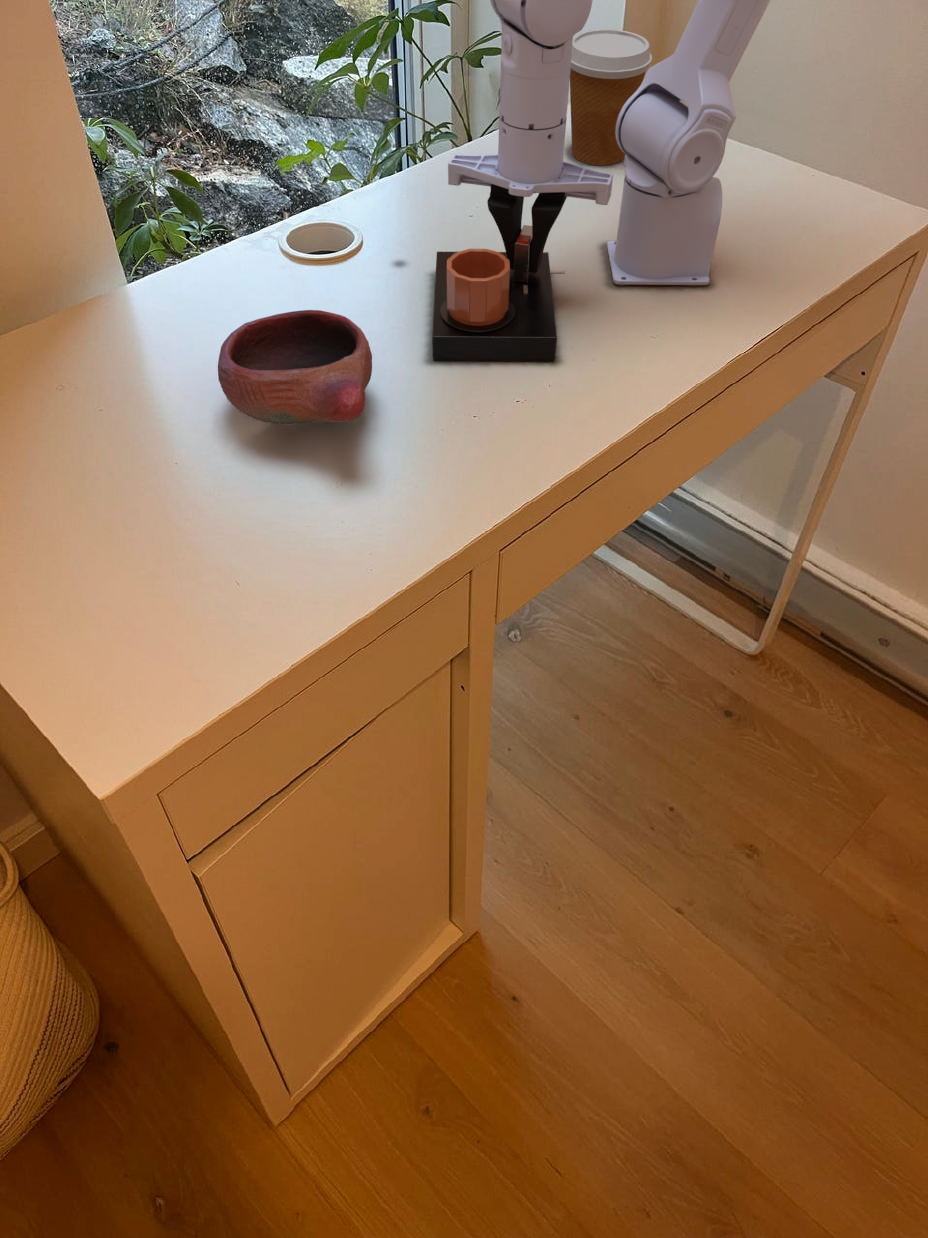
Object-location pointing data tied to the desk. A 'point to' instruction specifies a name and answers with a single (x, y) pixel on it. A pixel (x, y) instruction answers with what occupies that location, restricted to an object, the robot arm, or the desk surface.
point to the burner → (477, 329)
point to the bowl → (296, 368)
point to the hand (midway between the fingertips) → (524, 265)
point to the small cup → (478, 286)
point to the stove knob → (523, 255)
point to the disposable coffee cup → (603, 89)
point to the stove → (516, 341)
